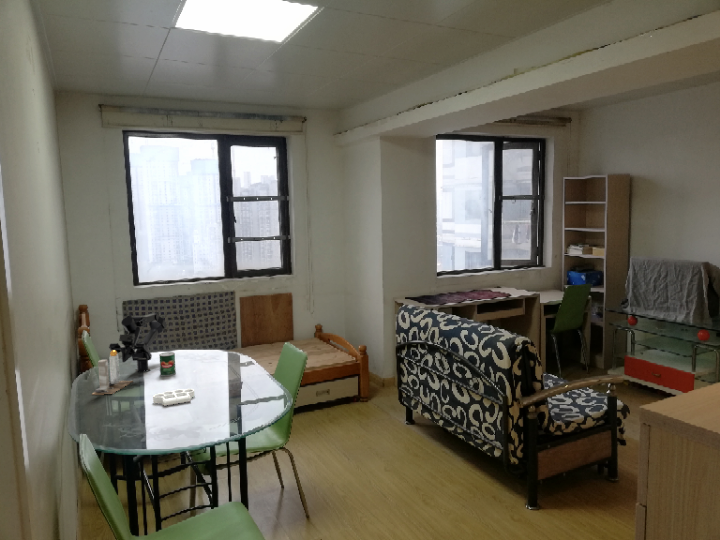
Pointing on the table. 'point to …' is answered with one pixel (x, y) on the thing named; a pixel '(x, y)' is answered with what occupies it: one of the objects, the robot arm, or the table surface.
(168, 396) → the white piece
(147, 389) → the table surface
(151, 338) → the robot arm
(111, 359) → the sliding leg
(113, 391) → the bolt board
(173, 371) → the canned tomato
